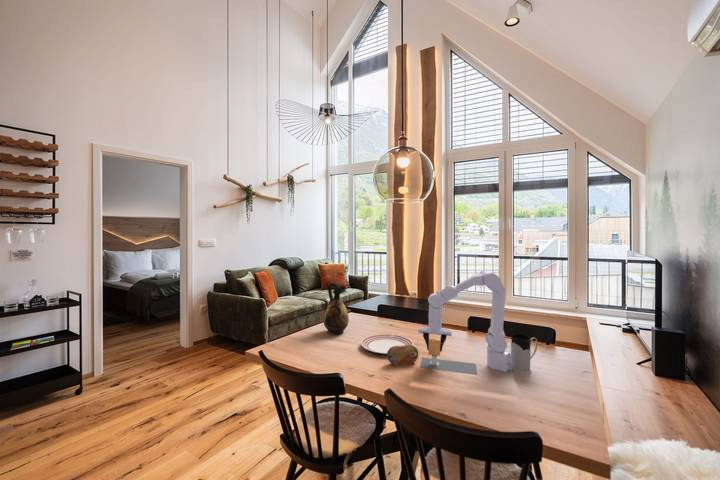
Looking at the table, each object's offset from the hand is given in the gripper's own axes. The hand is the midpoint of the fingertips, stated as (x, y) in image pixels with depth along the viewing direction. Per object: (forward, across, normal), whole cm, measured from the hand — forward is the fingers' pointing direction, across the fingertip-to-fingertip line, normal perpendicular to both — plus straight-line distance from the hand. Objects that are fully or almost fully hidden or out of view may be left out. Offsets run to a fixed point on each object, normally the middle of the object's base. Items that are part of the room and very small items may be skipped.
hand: (434, 350), depth 146 cm
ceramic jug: (+8, -61, +34) cm, 70 cm away
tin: (+8, -15, 0) cm, 17 cm away
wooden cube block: (+1, 0, 0) cm, 1 cm away
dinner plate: (+8, -26, +18) cm, 32 cm away
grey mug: (+8, +39, +10) cm, 41 cm away
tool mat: (+8, +6, 0) cm, 10 cm away
